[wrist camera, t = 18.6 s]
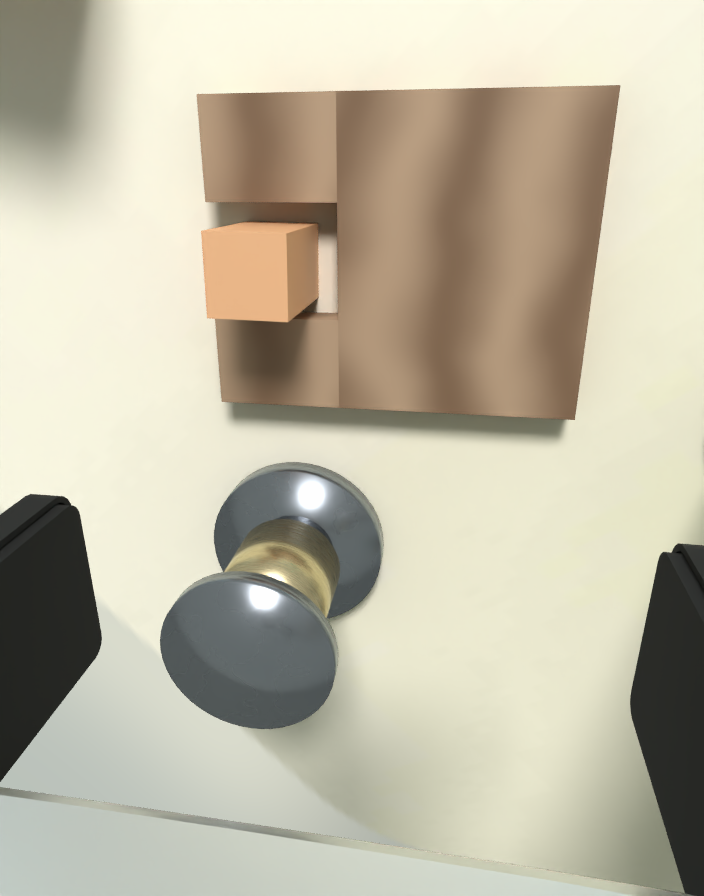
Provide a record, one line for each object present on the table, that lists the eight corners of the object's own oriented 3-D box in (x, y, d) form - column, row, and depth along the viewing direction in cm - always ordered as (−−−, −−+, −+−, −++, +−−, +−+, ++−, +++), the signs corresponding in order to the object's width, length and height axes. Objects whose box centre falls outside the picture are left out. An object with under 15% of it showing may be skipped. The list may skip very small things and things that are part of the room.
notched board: (611, 90, 31) (620, 85, 30) (569, 407, 37) (574, 419, 36) (211, 98, 34) (196, 94, 32) (232, 391, 40) (221, 401, 39)
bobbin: (384, 467, 41) (354, 575, 30) (382, 614, 45) (354, 755, 34) (215, 457, 42) (128, 555, 31) (228, 599, 47) (154, 729, 36)
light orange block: (318, 223, 36) (286, 233, 30) (318, 297, 37) (288, 322, 31) (247, 221, 36) (201, 230, 30) (250, 294, 38) (207, 318, 32)
